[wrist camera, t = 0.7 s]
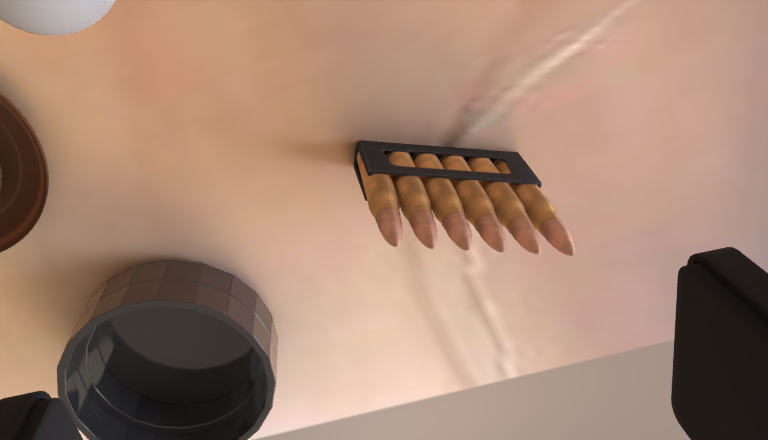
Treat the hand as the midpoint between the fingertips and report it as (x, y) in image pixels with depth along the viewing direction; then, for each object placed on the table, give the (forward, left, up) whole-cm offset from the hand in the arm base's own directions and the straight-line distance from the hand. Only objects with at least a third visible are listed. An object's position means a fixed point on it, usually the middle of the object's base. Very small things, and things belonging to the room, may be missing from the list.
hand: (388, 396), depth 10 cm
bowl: (+19, -13, -31) cm, 38 cm away
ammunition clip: (+9, +6, -31) cm, 33 cm away
